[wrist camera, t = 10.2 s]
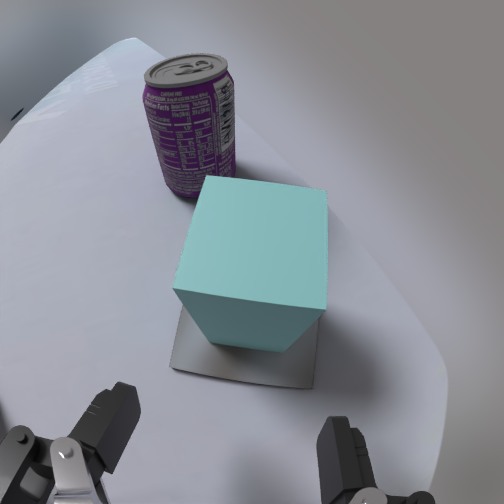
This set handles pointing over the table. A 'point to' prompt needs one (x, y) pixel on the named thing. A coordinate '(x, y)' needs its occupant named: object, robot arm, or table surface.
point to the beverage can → (191, 119)
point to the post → (244, 358)
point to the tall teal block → (255, 262)
